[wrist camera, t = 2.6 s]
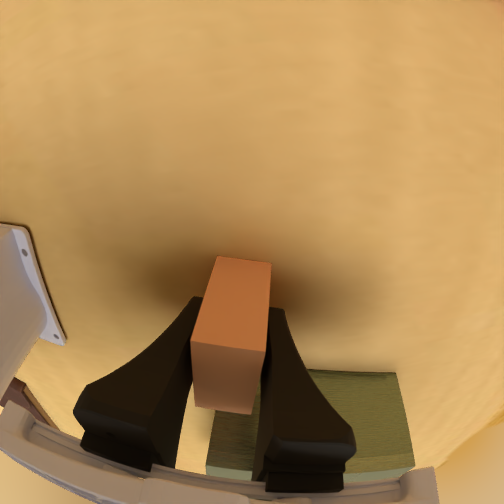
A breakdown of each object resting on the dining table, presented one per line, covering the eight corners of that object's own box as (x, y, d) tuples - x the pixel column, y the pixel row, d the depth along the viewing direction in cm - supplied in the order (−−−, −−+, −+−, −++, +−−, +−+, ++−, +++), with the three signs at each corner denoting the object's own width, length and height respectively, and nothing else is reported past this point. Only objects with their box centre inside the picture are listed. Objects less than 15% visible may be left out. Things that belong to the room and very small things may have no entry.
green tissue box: (225, 359, 17) (205, 465, 12) (395, 373, 17) (415, 466, 12) (219, 443, 25) (209, 505, 19) (332, 451, 25) (333, 511, 19)
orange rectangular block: (217, 255, 14) (190, 340, 9) (271, 262, 14) (265, 351, 9) (214, 326, 16) (195, 406, 12) (259, 332, 16) (251, 414, 12)
